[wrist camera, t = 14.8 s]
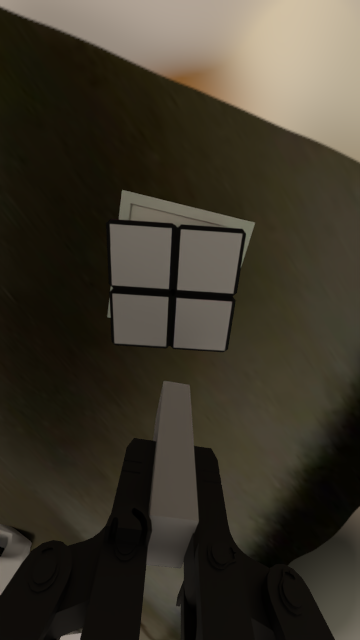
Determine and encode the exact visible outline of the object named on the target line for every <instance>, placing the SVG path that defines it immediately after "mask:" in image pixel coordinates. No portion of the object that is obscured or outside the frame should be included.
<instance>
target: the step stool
mask: <svg viewBox="0 0 360 640" xmlns="http://www.w3.org/2000/svg"><path fill="white" fill-rule="evenodd" d="M31 544H32V543H31V541H30V540H28V539H27V538H26V537H25V536H23V535H22V534H21V533H20V532H18V531H17V530H16V529H14V528H13V527H11V526H7V525H3V524H0V547H3V548H4V549H5V550H4V552H3V553H2V555H1V557H0V595H1V594H2V592H3V591H4V589H5V588H6V586H7V585H8V583H9V582H10V580H11V579H12V577H13V576H14V574H15V573H16V571H17V570H18V568H19V567H20V565H21V564H22V562H23V561H24V560H25V558H26V557H27V556H28V555H29V553H30V547H31Z"/></svg>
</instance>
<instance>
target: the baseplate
mask: <svg viewBox="0 0 360 640" xmlns="http://www.w3.org/2000/svg"><path fill="white" fill-rule="evenodd" d="M119 220H134V221H148V222H162V223H173V224H174V225H176V226H177V228H178V227H179V226H180V225H181V224H184V225H198V226H212V227H226V228H240V229H243V230H244V231H245V233H246V238H245V245H244V251H243V257H242V263H243V260H244V256H245V253H246V250H247V247H248V244H249V240H250V237H251V234H252V231H253V228H254V225H255V223H254V222H250V221H246V220H242V219H238V218H234V217H230V216H226V215H222V214H218V213H214V212H210V211H205V210H201V209H197V208H193V207H189V206H185V205H181V204H177V203H173V202H169V201H165V200H161V199H157V198H153V197H149V196H145V195H141V194H137V193H133V192H129V191H125V190H122V196H121V204H120V213H119ZM242 263H241V266H242ZM112 289H113V288H112V287H111V290H112ZM111 290H110V291H111ZM107 317H109V318H111V316H110V299H109V307H108V316H107Z"/></svg>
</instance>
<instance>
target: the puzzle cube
mask: <svg viewBox="0 0 360 640" xmlns="http://www.w3.org/2000/svg"><path fill="white" fill-rule="evenodd" d="M106 229H107V251H108V273H109V284H110V286H111V287H112V288H113V289H112V290H111V291H110V292H109V295H110V316H111V338H112V342H113V343H114V344H115V345H121V346H137V347H153V348H167V347H168V346H171V347H172V348H173V349H182V350H198V351H214V352H225V351H226V350H227V349H228V345H229V339H230V332H231V326H232V320H233V314H234V307H235V299H234V298H233V295H235V294H236V293H237V288H238V282H239V276H240V270H241V263H242V257H243V251H244V245H245V238H246V233H245V231H244V230H243V229H240V228H226V227H212V226H198V225H184V224H181V225H180V226H179V227H178V228H177V226H176V225H174V224H173V223H162V222H148V221H134V220H119V219H110V220H109V221H108V222H107V223H106Z"/></svg>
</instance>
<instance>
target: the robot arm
mask: <svg viewBox="0 0 360 640" xmlns="http://www.w3.org/2000/svg"><path fill="white" fill-rule="evenodd" d="M183 562H184V581H183V584H182V586H181V589H180V591H179V594H178V597H177V604H176V606H180V604H181V640H335V639H334V637H333V635H332V633H331V631H330V629H329V627H328V625H327V623H326V622H325V620H324V618H323V616H322V614H321V612H320V610H319V608H318V606H317V604H316V602H315V600H314V598H313V596H312V594H311V592H310V590H309V588H308V587H307V585H306V584H305V582H304V581H303V579H302V578H301V577H300V576H299V574H298V573H296V572H295V570H293V569H292V568H290V567H288V566H286V565H285V564H276V565H275V566H273V567H272V568H268V567H266V566H264V565H262V564H261V563H259V562H257V561H255V560H253V559H252V558H250V557H248V556H247V555H246V554H244V553H243V552H242V551H241V550H240V549H239V548H238V546H237V545H236V543H235V542H234V540H233V538H232V536H231V534H230V530H229V526H228V521H227V515H226V509H225V503H224V497H223V490H222V485H221V478H220V475H219V466H218V460H217V458H216V456H215V454H214V453H213V451H212V449H211V448H204V447H197V446H194V441H193V426H192V411H191V396H190V385H187V384H181V383H174V382H168V381H163V386H162V391H161V396H160V401H159V405H158V410H157V415H156V421H155V429H154V437H153V441H151V440H144V439H137V438H134V439H133V440H132V442H131V443H130V444H129V446H128V447H127V449H126V454H125V458H124V462H123V466H122V471H121V475H120V479H119V483H118V487H117V492H116V496H115V500H114V504H113V508H112V513H111V515H110V517H109V519H108V521H107V524H106V526H105V527H104V528H103V529H102V530H101V531H100V533H98V534H97V535H96V536H94V537H93V538H90V539H88V540H86V541H83V542H79V543H76V544H73V545H69V546H67V545H65V544H64V543H63V542H61V541H55V540H52V541H49V542H45V543H42V544H41V545H40V546H38V547H37V548H35V549H34V550H32V551H31V553H30V554H29V555H28V556H27V557H26V558H25V560H24V561H23V562H22V564H21V565H20V567H19V568H18V570H17V571H16V573H15V574H14V576H13V577H12V579H11V580H10V582H9V583H8V585H7V586H6V588H5V589H4V591H3V592H2V594H1V595H0V640H60V637H61V636H63V635H65V634H68V633H70V632H72V631H75V630H77V629H79V628H82V627H83V630H82V634H81V638H80V640H139V634H140V624H141V613H142V603H143V592H144V582H145V571H146V565H154V566H164V567H173V568H181V567H182V564H183Z"/></svg>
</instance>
